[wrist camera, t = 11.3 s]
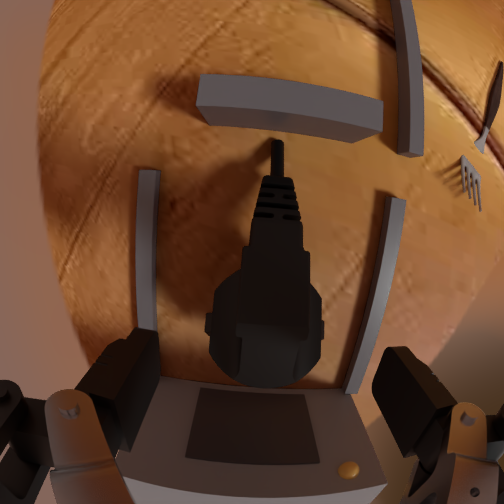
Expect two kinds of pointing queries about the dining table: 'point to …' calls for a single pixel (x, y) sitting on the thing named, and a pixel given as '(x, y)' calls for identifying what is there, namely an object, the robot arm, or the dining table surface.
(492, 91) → the fork
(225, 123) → the plug holster
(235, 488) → the socket block
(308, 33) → the dining table surface
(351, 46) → the dining table surface
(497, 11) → the dining table surface
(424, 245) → the dining table surface
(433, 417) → the robot arm
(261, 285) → the power plug
